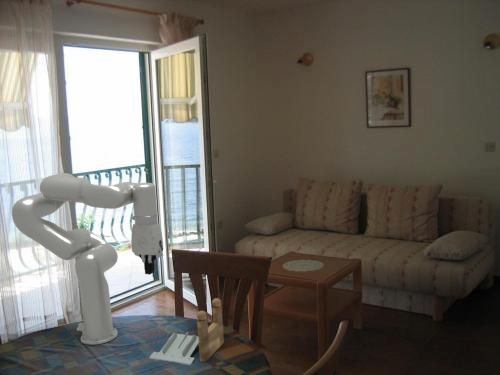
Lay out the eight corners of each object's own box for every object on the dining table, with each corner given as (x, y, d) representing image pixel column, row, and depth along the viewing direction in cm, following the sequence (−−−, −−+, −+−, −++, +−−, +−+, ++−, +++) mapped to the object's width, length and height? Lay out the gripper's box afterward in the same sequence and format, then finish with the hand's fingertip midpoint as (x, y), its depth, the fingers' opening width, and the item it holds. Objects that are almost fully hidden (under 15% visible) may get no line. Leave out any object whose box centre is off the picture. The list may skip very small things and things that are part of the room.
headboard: (198, 360, 157) (195, 312, 155) (217, 341, 170) (214, 296, 168) (207, 362, 156) (203, 313, 154) (225, 342, 169) (222, 297, 167)
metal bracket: (168, 326, 171) (207, 331, 165) (171, 340, 173) (210, 345, 167) (145, 356, 159) (187, 363, 153) (150, 370, 161) (191, 377, 155)
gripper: (120, 221, 168) (124, 274, 170) (158, 223, 162) (162, 278, 164) (134, 216, 174) (138, 268, 177) (171, 218, 168) (174, 272, 171)
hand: (149, 273), depth 171 cm, fingers closed
